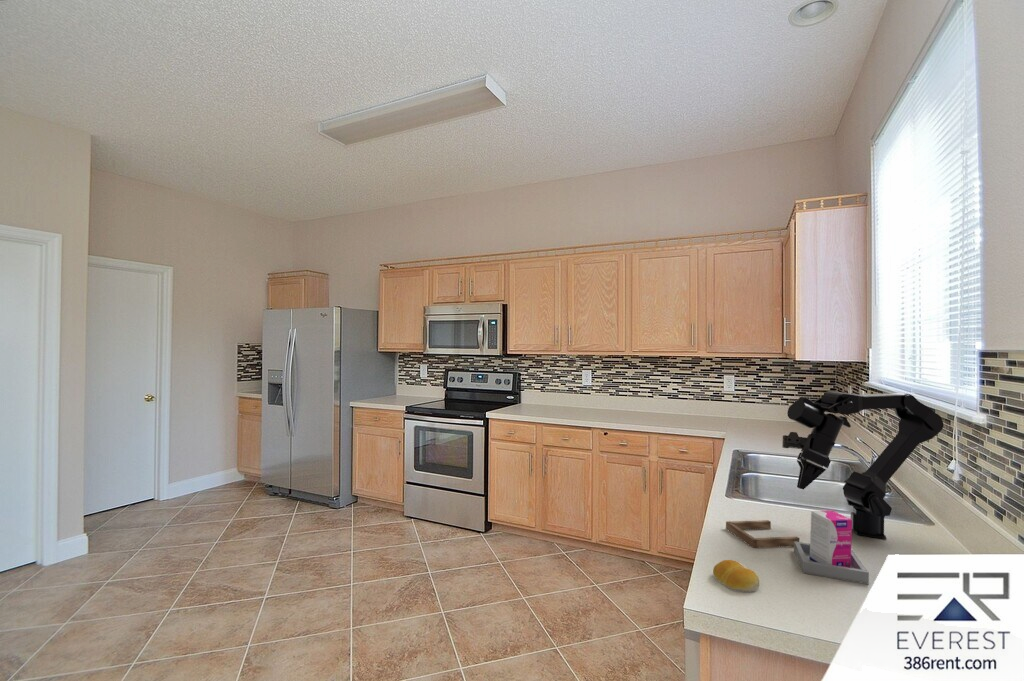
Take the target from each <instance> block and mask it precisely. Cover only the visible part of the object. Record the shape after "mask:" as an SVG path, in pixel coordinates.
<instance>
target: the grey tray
mask: <svg viewBox="0 0 1024 681" xmlns="http://www.w3.org/2000/svg"><path fill="white" fill-rule="evenodd" d="M793 552H794V554H795V556H796V559H797V562H798V564H799V565H800V569H801V571H802V573H803V574H807V575H812V576H817V577H823V578H828V579H829V578H830V579H834V580H839V581H847V582H853V583H857V582H862V583H861V584H863V583H869V584H870V581H869V580H870V579H869V578H870V577H869V576H870V572H869V571H868V569H867V567H866V566H865V565H864V563H863V562H862V561H861V559H860V558H859V557H858V555H857V554H856V552H855V551H854V549H851V566H850V568H848V567H842V566H836V565H830V564H824V563H818V562H813V561H812V560H810V559H809V558H810V542H809V543H808V542H803V541H802V542H801V541H799V542H797V541H794V546H793Z"/></svg>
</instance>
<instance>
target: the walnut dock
mask: <svg viewBox="0 0 1024 681" xmlns="http://www.w3.org/2000/svg"><path fill="white" fill-rule="evenodd" d="M771 523H772V522H771V520H769V519H765V520H738V521H737V520H736V521H734V520H733V521H730V520H729V521H725V530H727V531H728V530H729V531H728V532H730V533H731V532H732V533H731V534H733V535H734V534H735V535H736V536H735V535H734V536H735V537H737V538H738V537H739V538H738V539H740V540H741V539H742V540H741V541H742V542H744V541H745V542H746V543H745V542H744V543H745V544H747V545H748V544H749V545H748V546H750V547H751V548H753V549H754V548H755V549H756V548H757V549H759V547H762V548H782V547H781V546H788V547H794V541H797V542H800V537H799V536H777V537H776V536H775V537H774V536H773V537H771V536H769V537H754V536H752V535H751V534H749V533H747V532H746V531H745V529H751V530H771V529H772V528H771V526H772V525H771ZM779 546H780V547H779Z"/></svg>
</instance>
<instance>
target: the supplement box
mask: <svg viewBox="0 0 1024 681" xmlns="http://www.w3.org/2000/svg"><path fill="white" fill-rule="evenodd" d="M810 512H811V513H810V534H809V535H810V536H809V537H810V541H809V543H810V558H809V559H810V560H812V561H813V562H818V563H824V564H830V565H836V566H842V567H848V568H850V566H851V550H852V536H853V535H852V532H853V529H852V520H851V518H849V517H847V516H845V515H842V514H841V513H838V512H836V511H835V510H811V511H810Z"/></svg>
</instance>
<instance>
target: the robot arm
mask: <svg viewBox="0 0 1024 681" xmlns="http://www.w3.org/2000/svg"><path fill="white" fill-rule="evenodd" d="M880 409H881V410H884V409H885V410H887V409H894V414H895V415H896V417H898V418H899V419H900V420H899V421H898V425H897V426H898V432H897V434H896V435H894V437H893V439H892V440H891V441H890V442H889V444H888V445H887V446H886V447H885V449H883V451H881V453H880V455H878V456H877V458H876V459H875V460H874V461H873V463H872V464H871V465H870V466H869V467H868V468H867V470H865V471H864V472H857V471H853V472H851V474H850V475H849V477H848V478H847V479H845V480H844V483H845V484H844V485H843V487H842V490H843V496H844V497H845V500H846V501H847V505H848V506H850V507H852V512H850V519H851V520H852V531H853V532H854V533H855V534H856V535H858V536H863V537H870V538H876V539H877V538H878V539H882V540H883V539H884V540H887V536H886V534H885V517H887V516H890V515H891V513H892V509H893V508H892V507H891V506H890V504H889V503H888V502H886V500H885V499H884V498H885V496H886V494H887V483H888V481H890V480H891V478H892V477H893V476H894V474H895V473H896V472H897V471H898V470H899V469H900V467H901V466H902V465H903V464H904V462H906V460H907V459H908V458H909V457H910V455H911V454H912V453H913V452H914V450H916V448H917V447H918V446H919V445H920V444H922V443H924V442H927V441H929V440H930V441H931V440H932V439H934V438H935V437H936V436H937V435H938V434H939V433H941V432H942V431H943V428H944V426H945V425H944V421H943V418H942V417H941V415H939V413H937V412H935V411H934V410H933V409H931V408H930V407H928V406H927V405H926V404H924V403H922V402H920V401H919V400H918V399H917V398H916V397H915V396H914V395H912V394H909V393H903V392H893V393H891V392H890V393H870V394H869V393H866V394H865V393H864V394H854V393H847V392H839V391H835V390H828V391H826V392H824V393H823V394H822V396H821V397H819V398H817V399H816V400H814V401H812V400H811V399H810V398H807V397H804V396H799V398H798V399H797V400H795V401H794V402H793V403H792V404H791V405H789V406H788V408H787V413H786V414H787V417H788V419H790V420H792V421H793V422H795V423H798V424H800V425H802V426H804V427H806V428H808V429H811V432H810V433H808V435H807V437H805V436H804V437H803V436H799V434H798V432H796V431H790V432H789V434H788V435H787V434H784V435H782V441H781V442H782V448H783V449H797V450H798V449H799V450H800V451H801V452H799V453H798V455H797V458H796V463H797V465H798V466H799V468H800V469H799V474H798V479H797V484H796V487H797V488H798V489H800V490H805V489H806V488H808V486H809V485H811V484H812V483H813V482H815V480H816V479H817V478H819V477H820V476H821V475H822V474H823V473H825V471H827V469H828V468H829V466H830V464H831V459H830V458H829V456H830V454H831V451H832V450H833V447H835V444H836V441H837V438H838V436H839V433H840V432H841V429H842V427H845V428H851V427H852V426H851V423H850V422H849V420H848V418H847V416H849V415H853V414H858V413H861V412H862V411H865V410H880ZM836 414H838V415H839V414H840V416H837V415H836ZM841 415H842V416H841ZM843 415H844V416H843Z"/></svg>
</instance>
